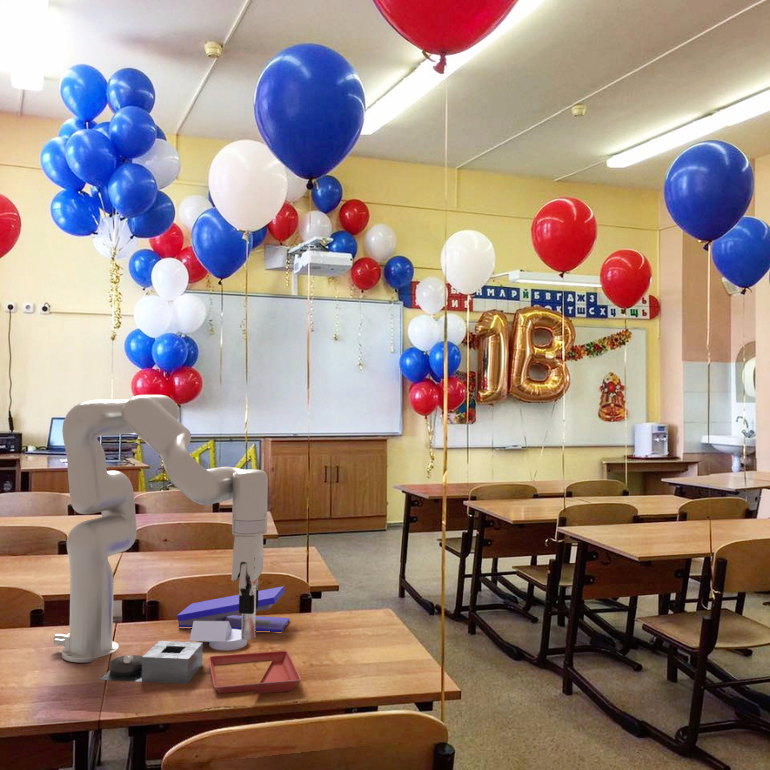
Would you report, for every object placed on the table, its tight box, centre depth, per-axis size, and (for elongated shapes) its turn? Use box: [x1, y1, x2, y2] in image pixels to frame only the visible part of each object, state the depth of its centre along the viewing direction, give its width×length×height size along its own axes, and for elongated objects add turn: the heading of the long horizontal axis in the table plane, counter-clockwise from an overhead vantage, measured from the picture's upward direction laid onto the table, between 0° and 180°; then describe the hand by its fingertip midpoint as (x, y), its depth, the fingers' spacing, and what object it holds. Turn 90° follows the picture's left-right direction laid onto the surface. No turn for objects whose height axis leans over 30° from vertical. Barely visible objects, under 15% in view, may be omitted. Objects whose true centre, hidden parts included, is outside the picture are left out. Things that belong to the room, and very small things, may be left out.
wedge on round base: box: [188, 621, 248, 651], centre depth 180 cm, size 9×7×13 cm
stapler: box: [176, 585, 290, 633], centre depth 198 cm, size 12×28×10 cm, turn 86°
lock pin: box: [241, 578, 257, 641], centre depth 161 cm, size 3×3×13 cm
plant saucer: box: [208, 650, 302, 695], centre depth 161 cm, size 18×18×3 cm
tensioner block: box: [98, 640, 204, 685], centre depth 161 cm, size 19×11×6 cm, turn 87°
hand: (248, 610), depth 161 cm, fingers closed on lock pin, 3 cm apart
